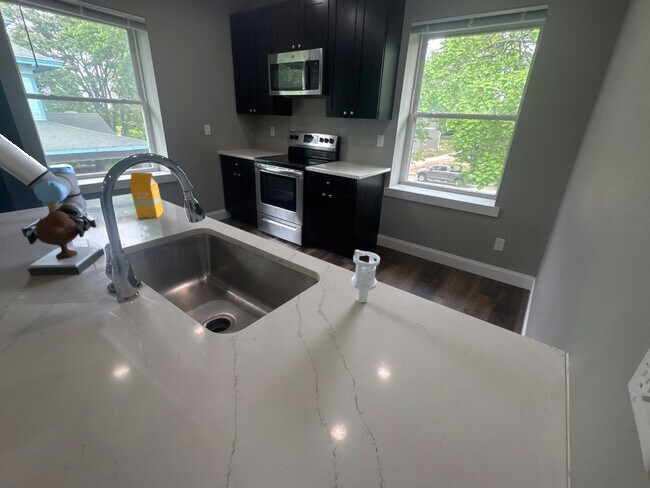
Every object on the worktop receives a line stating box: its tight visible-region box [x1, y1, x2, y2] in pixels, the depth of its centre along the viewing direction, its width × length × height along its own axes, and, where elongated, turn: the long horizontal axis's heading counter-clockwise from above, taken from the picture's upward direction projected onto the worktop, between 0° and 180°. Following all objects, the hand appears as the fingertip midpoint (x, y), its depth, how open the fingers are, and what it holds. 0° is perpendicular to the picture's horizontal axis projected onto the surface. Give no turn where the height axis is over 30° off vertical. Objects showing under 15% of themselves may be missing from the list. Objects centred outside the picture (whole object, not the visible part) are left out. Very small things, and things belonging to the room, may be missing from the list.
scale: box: [27, 246, 106, 276], centre depth 97 cm, size 14×14×3 cm
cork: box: [46, 203, 59, 214], centre depth 133 cm, size 6×6×11 cm
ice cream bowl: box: [34, 211, 79, 259], centre depth 94 cm, size 11×11×15 cm
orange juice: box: [129, 172, 164, 219], centre depth 138 cm, size 8×9×20 cm
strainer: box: [350, 249, 381, 303], centre depth 83 cm, size 7×7×15 cm
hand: (55, 236), depth 90 cm, fingers closed on ice cream bowl, 11 cm apart
